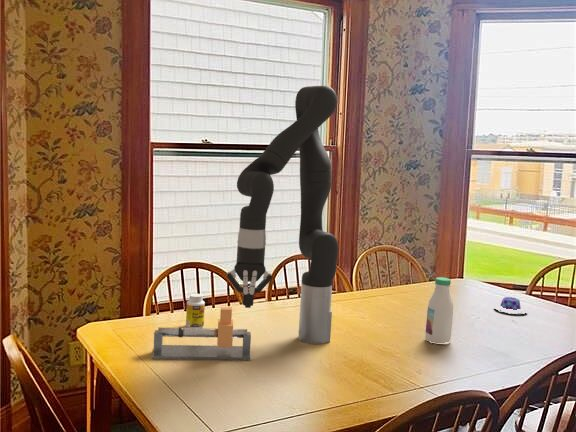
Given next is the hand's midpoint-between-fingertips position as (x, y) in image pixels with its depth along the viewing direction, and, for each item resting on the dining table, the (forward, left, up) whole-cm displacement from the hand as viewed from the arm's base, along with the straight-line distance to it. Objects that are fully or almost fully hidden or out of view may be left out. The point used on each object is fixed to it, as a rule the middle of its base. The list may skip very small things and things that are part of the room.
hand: (247, 307), depth 169 cm
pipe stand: (+12, 0, -14) cm, 18 cm away
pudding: (-102, -50, -14) cm, 114 cm away
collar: (+6, 0, -10) cm, 12 cm away
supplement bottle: (+15, -24, -14) cm, 31 cm away
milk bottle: (-60, -14, -14) cm, 63 cm away
